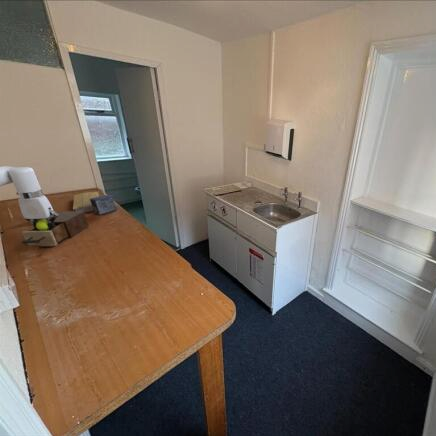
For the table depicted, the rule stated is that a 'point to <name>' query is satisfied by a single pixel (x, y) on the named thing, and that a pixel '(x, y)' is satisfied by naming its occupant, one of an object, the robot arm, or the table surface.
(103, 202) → the small box
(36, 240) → the drawer
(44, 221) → the ball
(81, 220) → the cabinet
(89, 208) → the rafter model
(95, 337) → the table surface
